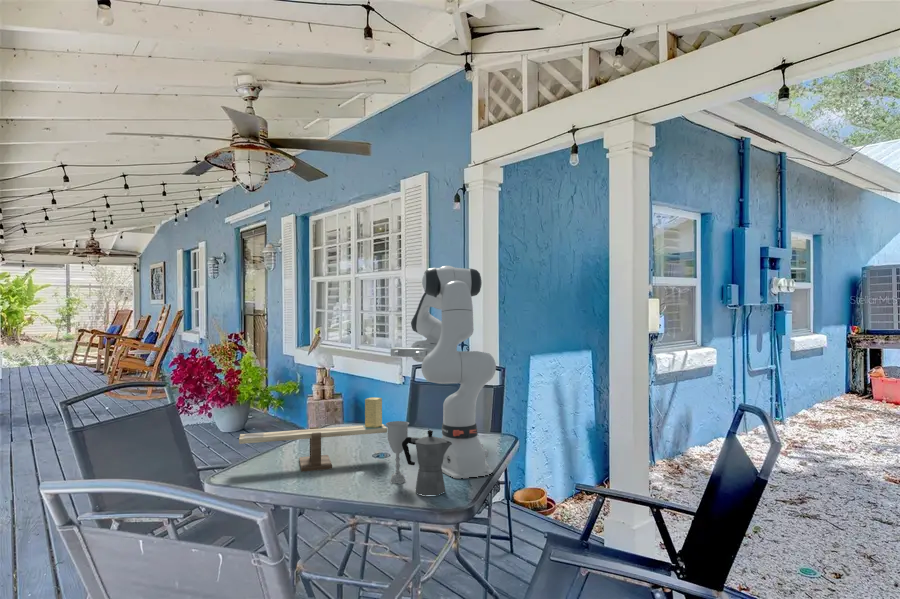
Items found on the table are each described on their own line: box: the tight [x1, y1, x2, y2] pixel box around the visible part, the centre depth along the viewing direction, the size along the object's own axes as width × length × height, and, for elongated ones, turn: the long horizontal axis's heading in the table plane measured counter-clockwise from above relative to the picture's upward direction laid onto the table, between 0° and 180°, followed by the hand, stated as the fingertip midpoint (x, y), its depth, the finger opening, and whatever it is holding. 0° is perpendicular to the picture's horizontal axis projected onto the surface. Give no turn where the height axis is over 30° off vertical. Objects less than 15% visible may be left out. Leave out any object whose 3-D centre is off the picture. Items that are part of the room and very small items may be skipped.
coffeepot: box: [402, 429, 452, 495], centre depth 159 cm, size 15×9×18 cm, turn 75°
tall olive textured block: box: [364, 397, 383, 428], centre depth 193 cm, size 4×4×10 cm
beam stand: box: [298, 426, 333, 473], centre depth 187 cm, size 14×10×12 cm
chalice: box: [385, 420, 410, 484], centre depth 168 cm, size 7×7×18 cm
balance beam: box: [238, 423, 388, 445], centre depth 187 cm, size 7×49×2 cm, turn 108°
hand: (406, 353), depth 213 cm, fingers open, 8 cm apart
